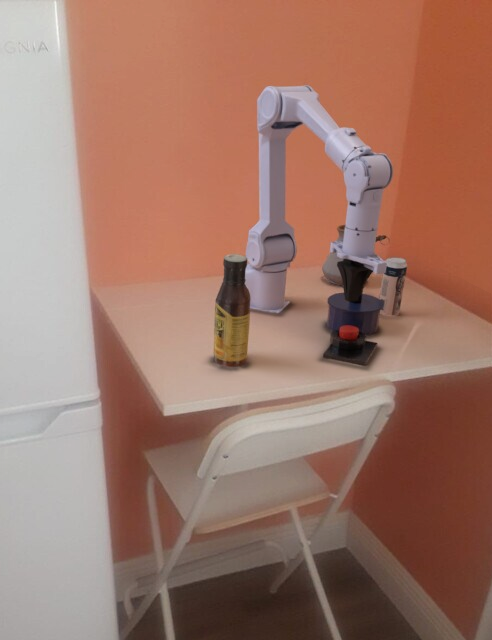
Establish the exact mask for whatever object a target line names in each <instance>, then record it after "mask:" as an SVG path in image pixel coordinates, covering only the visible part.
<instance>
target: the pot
mask: <svg viewBox="0 0 492 640" xmlns="http://www.w3.org/2000/svg"><path fill="white" fill-rule="evenodd" d="M380 316H381V314H380V311H378V312H374V313H368V314H355V313H348V312H343V311H339V310H337V309H334V308H332V307H331V306H330V305H329V304H328V309H327V319H326V326H327V328H328V329H329V330H330V331H332V332H333V331H334V330H338V329H340V327H341V326H344V325H351V326H355V327H357V328H358V329H359V331H360V332H362V333H364V334H365V336H371V335H372V334H375V333H376V332H377V331H378V329H379V324H380V323H379V321H380Z"/></svg>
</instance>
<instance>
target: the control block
mask: <svg viewBox="0 0 492 640" xmlns="http://www.w3.org/2000/svg"><path fill="white" fill-rule="evenodd" d="M339 332H340V329H338V330H334V331H332V332H331V333H330V337H329V343H330V345H329V346H328V347H327V349H326V350H325V351H324V353H323V354H322V358H323V359H327V360H334V361H339V362H343V363H348V364H354V365H358V366H363V367H365V366H367V364H368V362H369V361H370V359H371V357H372V355H373V354H374V352H375V351H376V349H377V348H378V344H379V343H378V342H374V341H369V340H367V335H365V334H364V333H362V332H360V331H359V333H358V339H352V340H349V339H343V338H341V337H339Z"/></svg>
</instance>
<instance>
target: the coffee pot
mask: <svg viewBox="0 0 492 640" xmlns="http://www.w3.org/2000/svg"><path fill="white" fill-rule="evenodd" d="M336 230H337V232H338V237H337V239H336V241H341V242H343V239H344V230H345V224H341V225H338V226H337V227H336ZM385 239H387V240H388V243H390V241H391V240H390V237H388V236H387V235H385V234H383V235H377V236H376V242H375V243H377V242H380V244H381V245H382V246H387V245H388V243H386V244H384V243H383V242H382V241H383V240H385ZM339 261H343V259H342V258H339V257H337V253H331V252H330V251H329V254H328V256H327V258H326V259H325V261H324V263H323V264H322V266H321V270H322V273H323V276H324V277H325V278H326V279H328V282H329V283H331V284H333V285H337V286H341V287H343V281H342V277H341V274H340V271H339V269H338V267H337V262H339Z"/></svg>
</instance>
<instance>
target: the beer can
mask: <svg viewBox="0 0 492 640" xmlns="http://www.w3.org/2000/svg"><path fill="white" fill-rule="evenodd" d="M384 261H385V262H387V267H386V273H382V278H381V284H380V291H379V298H378V299H380V300H381V301H382V302H383V308H382V309H381V310H380V315H383V316H387V317H394V316H398V315H400V310H401V304H402V299H403V294H404V293H403V292H404V288H405V281H406V276H407V275H406V274H407V268H408V264H407V260H406V259H404V258H403V257H399V256H398V257H397V256H390V257H387V259H386V260H384Z"/></svg>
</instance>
